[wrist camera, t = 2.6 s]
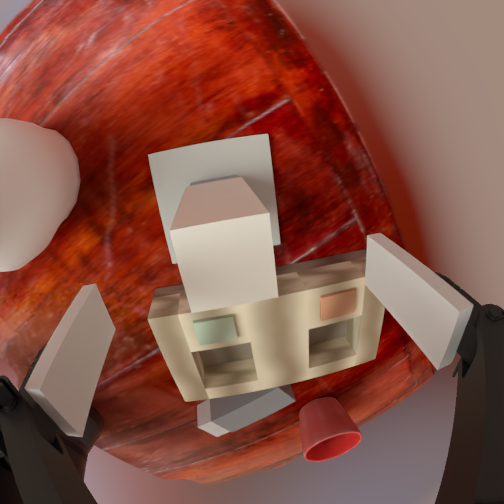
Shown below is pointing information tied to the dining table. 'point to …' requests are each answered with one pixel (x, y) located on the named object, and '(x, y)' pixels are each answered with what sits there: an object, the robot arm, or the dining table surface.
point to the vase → (33, 189)
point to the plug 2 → (241, 409)
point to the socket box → (271, 331)
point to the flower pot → (326, 430)
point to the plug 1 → (223, 245)
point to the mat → (214, 174)
